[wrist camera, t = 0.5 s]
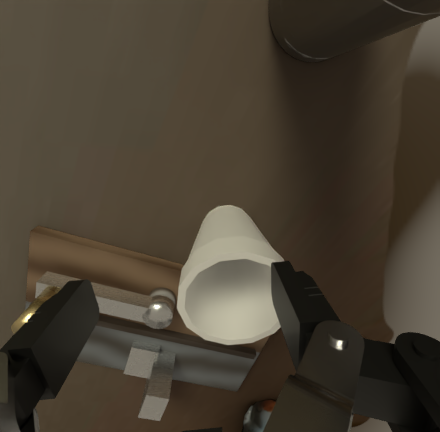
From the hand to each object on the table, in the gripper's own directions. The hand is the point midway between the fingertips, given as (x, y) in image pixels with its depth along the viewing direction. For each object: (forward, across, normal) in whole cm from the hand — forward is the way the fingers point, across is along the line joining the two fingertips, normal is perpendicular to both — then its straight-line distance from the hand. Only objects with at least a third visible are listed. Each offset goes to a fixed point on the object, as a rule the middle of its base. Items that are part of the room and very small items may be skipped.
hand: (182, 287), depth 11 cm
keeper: (+19, +10, +26) cm, 34 cm away
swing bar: (+17, +12, +12) cm, 24 cm away
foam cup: (+20, -3, +6) cm, 21 cm away
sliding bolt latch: (+20, +9, +20) cm, 30 cm away
